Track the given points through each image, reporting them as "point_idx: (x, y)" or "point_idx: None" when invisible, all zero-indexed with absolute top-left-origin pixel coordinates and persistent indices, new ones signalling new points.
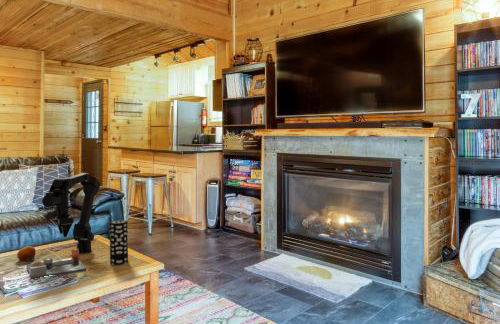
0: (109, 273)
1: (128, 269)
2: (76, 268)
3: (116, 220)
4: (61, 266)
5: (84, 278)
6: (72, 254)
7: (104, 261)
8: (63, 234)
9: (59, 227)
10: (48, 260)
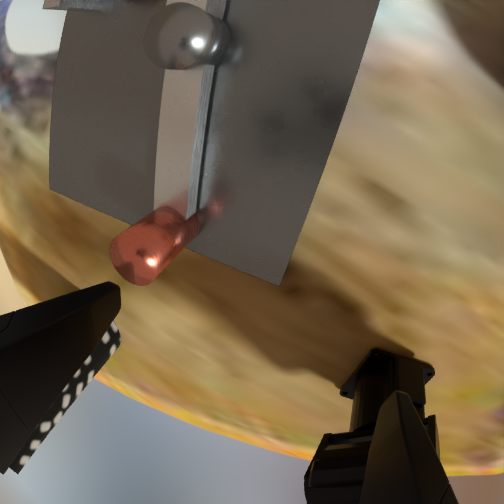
0: (11, 222)
1: (25, 280)
2: (65, 156)
3: (14, 471)
4: (136, 108)
5: (2, 138)
6: (141, 220)
7: (132, 311)
8: (71, 293)
9: (403, 482)
10: (144, 32)
